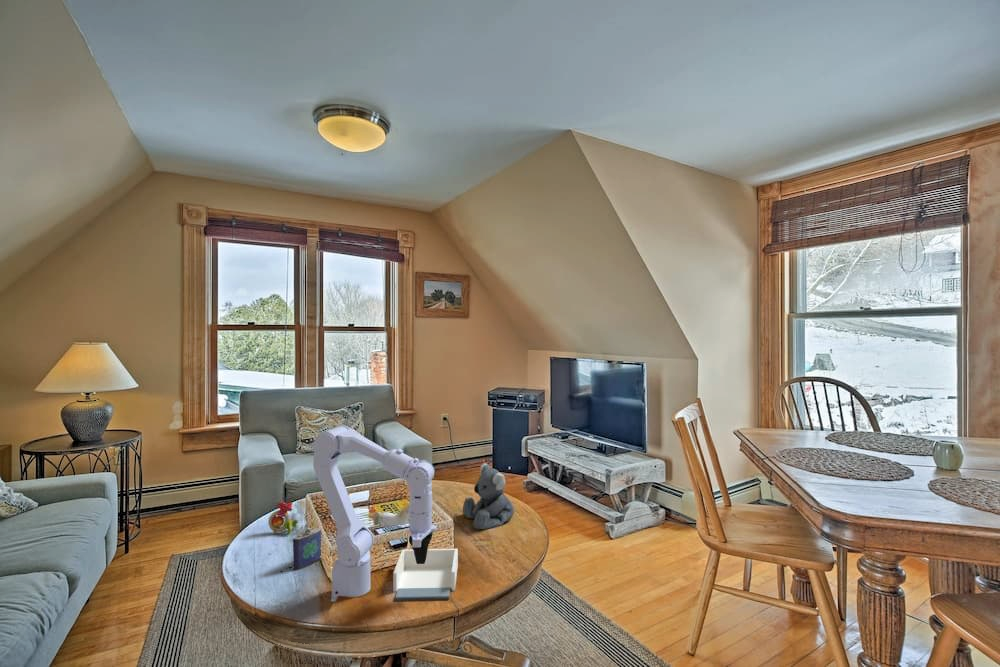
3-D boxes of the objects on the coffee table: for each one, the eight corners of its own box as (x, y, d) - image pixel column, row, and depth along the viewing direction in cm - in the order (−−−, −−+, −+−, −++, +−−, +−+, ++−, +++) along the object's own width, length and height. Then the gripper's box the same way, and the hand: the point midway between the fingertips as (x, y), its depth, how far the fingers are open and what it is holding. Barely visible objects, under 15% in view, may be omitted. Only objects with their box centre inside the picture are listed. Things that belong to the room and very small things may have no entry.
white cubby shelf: (393, 596, 122) (393, 573, 122) (402, 570, 135) (402, 549, 135) (454, 594, 123) (454, 572, 122) (457, 569, 136) (457, 548, 136)
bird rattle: (272, 543, 158) (298, 531, 159) (258, 514, 157) (284, 501, 158) (278, 535, 164) (303, 523, 165) (264, 507, 163) (289, 495, 165)
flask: (318, 555, 144) (318, 521, 144) (324, 558, 143) (324, 523, 143) (291, 568, 137) (291, 532, 136) (297, 571, 135) (297, 534, 135)
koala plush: (460, 515, 176) (459, 463, 176) (503, 507, 184) (502, 457, 184) (477, 532, 161) (477, 476, 161) (523, 523, 168) (523, 469, 168)
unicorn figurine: (425, 548, 149) (425, 506, 149) (365, 547, 150) (365, 505, 150) (430, 538, 156) (430, 498, 156) (373, 537, 157) (372, 497, 157)
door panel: (398, 592, 123) (394, 602, 118) (398, 588, 123) (394, 598, 118) (450, 591, 123) (448, 601, 118) (450, 587, 123) (448, 597, 118)
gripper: (432, 521, 114) (433, 577, 114) (439, 499, 128) (439, 549, 128) (403, 521, 113) (403, 577, 113) (413, 500, 128) (413, 549, 128)
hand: (421, 562), depth 121 cm, fingers closed
